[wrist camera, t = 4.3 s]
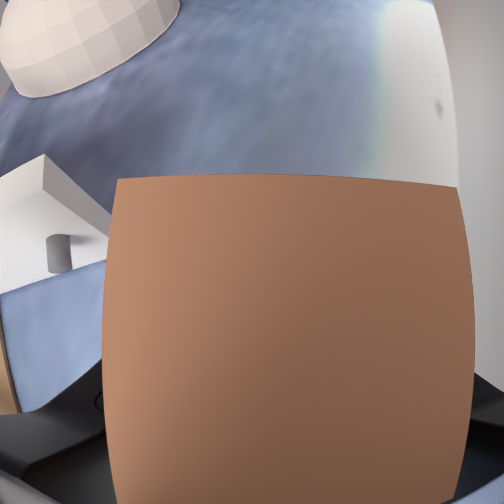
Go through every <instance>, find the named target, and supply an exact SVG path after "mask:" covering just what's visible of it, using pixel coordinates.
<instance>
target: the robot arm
mask: <svg viewBox="0 0 504 504" xmlns="http://www.w3.org/2000/svg"><path fill="white" fill-rule="evenodd" d="M0 504H117V500H116V495H115V489H114V484H113V478H112V472H111V466H110V459H109V452H108V444H107V435H106V425H105V414H104V399H103V379H102V358H101V359H100V360H99V361H98V362H97V363H96V364H95V365H94V366H93V367H92V368H91V369H89V370H88V371H87V372H86V373H85V374H84V375H82V376H81V377H80V378H79V379H78V380H76V381H75V382H74V383H73V384H71V385H70V386H69V387H67V388H66V389H65V390H64V391H62V392H61V393H60V394H58V395H57V396H56V397H55V398H53V399H52V400H51V401H50V402H48V403H47V404H45V405H44V406H42V407H41V408H39V409H37V410H34V411H31V412H26V413H17V414H6V415H0ZM440 504H504V392H502V391H500V390H499V389H497V388H496V387H494V386H493V385H492V384H490V383H489V382H487V381H486V380H484V379H483V378H482V377H480V376H479V375H477V374H476V373H474V383H473V395H472V405H471V413H470V421H469V428H468V434H467V440H466V446H465V451H464V456H463V461H462V465H461V470H460V474H459V478H458V482H457V486H456V489H455V493H454V496H453V498H452V499H450V500H448V501H445V502H443V503H440Z"/></svg>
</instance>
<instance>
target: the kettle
mask: <svg viewBox="0 0 504 504" xmlns="http://www.w3.org/2000/svg"><path fill="white" fill-rule="evenodd" d="M5 1H6V2H9V3H8V5H7V7H6V9H5V11H4V14H3V18H2V23H1V27H0V61H1V63H2V65H3V67H4V69H5V70H6V72H7V74H8V75H9V77H10V79H11V80H12V82H13V84H14V87H15V88H16V90H17V91H18V92H19V94H20V95H24V96H27V97H30V98H34V97H43V96H52V95H55V94H58V93H61V92H64V91H67V90H71V89H74V88H76V87H78V86H80V85H82V84H84V83H87V82H89V81H91V80H93V79H96V78H98V77H100V76H102V75H103V74H105V73H107V72H108V71H110V70H112V69H114V68H116V67H117V66H119V65H121V64H123V63H125V62H126V61H128V60H129V59H130V58H132V57H133V56H135V55H136V54H138V53H139V52H141V51H142V50H144V49H145V48H147V47H148V46H149V45H150V44H151V43H152V42H154V41H155V40H156V39H157V38H158V37H159V36H160V35H162V34H163V33H164V32H165V31H166V30H167V29H168V27H169V26H170V25H171V23H172V22H173V21H174V19H175V18H176V17H177V15H178V11H179V7H180V2H179V0H5Z"/></svg>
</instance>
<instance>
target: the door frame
mask: <svg viewBox="0 0 504 504" xmlns="http://www.w3.org/2000/svg"><path fill="white" fill-rule="evenodd" d="M17 413H21V411H20V407H19V404H18V401H17V397H16V394H15V390H14V386H13V382H12V378H11V374H10V369H9V365H8V360H7V355H6V350H5V344H4V339H3V332H2V325H1V318H0V415H6V414H17Z"/></svg>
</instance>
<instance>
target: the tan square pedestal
mask: <svg viewBox="0 0 504 504" xmlns="http://www.w3.org/2000/svg"><path fill="white" fill-rule="evenodd" d="M474 364H475V316H474V297H473V285H472V275H471V266H470V258H469V251H468V244H467V238H466V231H465V226H464V220H463V215H462V210H461V206H460V201H459V197H458V192H457V188H454V187H447V186H439V185H431V184H422V183H413V182H404V181H393V180H382V179H369V178H355V177H339V176H319V175H292V174H201V175H173V176H154V177H138V178H124V179H118V180H117V186H116V191H115V197H114V203H113V210H112V217H111V224H110V231H109V239H108V248H107V257H106V268H105V280H104V294H103V315H102V379H103V399H104V414H105V425H106V435H107V444H108V452H109V459H110V466H111V472H112V478H113V484H114V489H115V495H116V500H117V504H440V503H443V502H445V501H448V500H450V499H452V498H453V496H454V493H455V489H456V486H457V482H458V478H459V474H460V470H461V465H462V461H463V456H464V451H465V446H466V440H467V434H468V428H469V421H470V413H471V405H472V395H473V383H474Z"/></svg>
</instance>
